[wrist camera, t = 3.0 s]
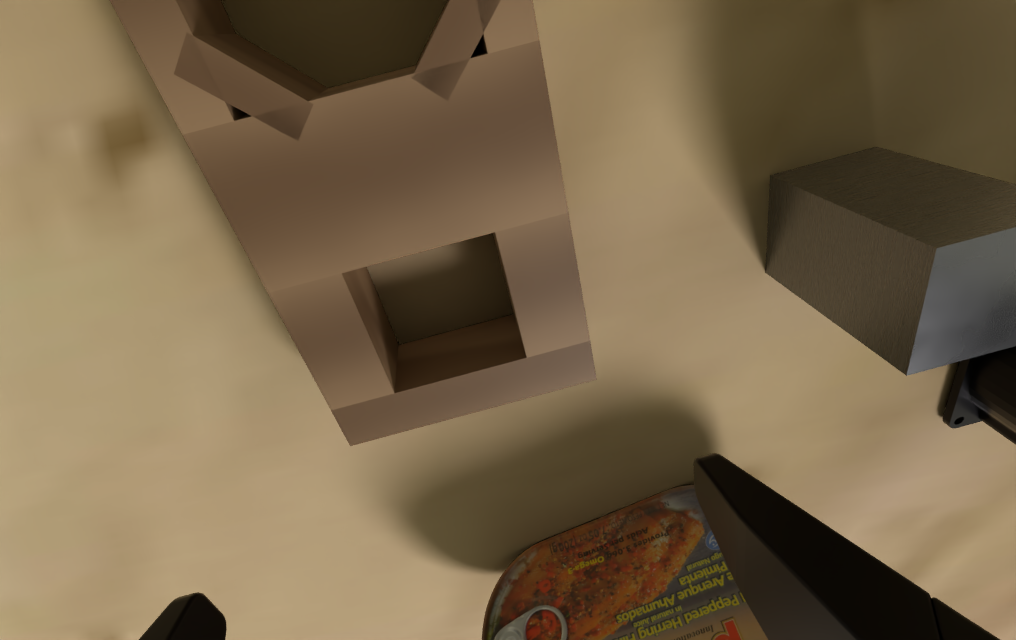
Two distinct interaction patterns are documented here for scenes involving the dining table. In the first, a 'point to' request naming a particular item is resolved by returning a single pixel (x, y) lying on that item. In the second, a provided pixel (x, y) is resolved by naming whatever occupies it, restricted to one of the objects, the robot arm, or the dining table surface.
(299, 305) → the bore block
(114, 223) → the dining table surface
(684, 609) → the tin
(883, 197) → the square bit
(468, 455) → the dining table surface
